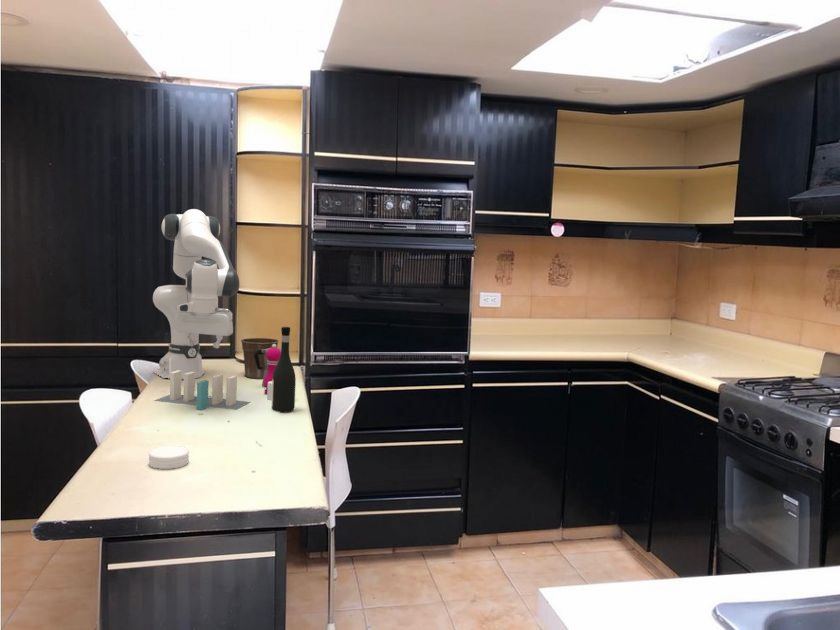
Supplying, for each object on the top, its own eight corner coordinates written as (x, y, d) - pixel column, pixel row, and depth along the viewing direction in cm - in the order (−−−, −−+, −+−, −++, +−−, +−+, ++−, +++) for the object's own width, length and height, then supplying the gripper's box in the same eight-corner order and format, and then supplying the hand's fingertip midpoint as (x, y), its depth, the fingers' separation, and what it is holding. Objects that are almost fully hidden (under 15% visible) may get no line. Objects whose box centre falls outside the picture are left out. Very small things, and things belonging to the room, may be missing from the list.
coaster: (175, 455, 185) (176, 443, 185) (196, 464, 179) (196, 451, 179) (141, 463, 178) (141, 450, 177) (161, 473, 171) (161, 459, 171)
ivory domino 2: (183, 401, 242) (183, 374, 241) (190, 398, 247) (191, 371, 246) (187, 401, 242) (187, 374, 241) (194, 398, 247) (195, 372, 246)
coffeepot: (281, 382, 284) (283, 340, 283) (292, 386, 277) (294, 344, 275) (248, 385, 275) (249, 342, 273) (258, 390, 267) (259, 345, 266)
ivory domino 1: (169, 399, 243) (170, 372, 242) (177, 396, 248) (177, 370, 247) (173, 400, 243) (174, 373, 242) (181, 397, 248) (181, 370, 247)
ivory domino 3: (211, 404, 240) (212, 376, 239) (218, 401, 245) (219, 374, 244) (215, 404, 240) (216, 377, 239) (222, 401, 245) (223, 374, 244)
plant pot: (237, 373, 298) (237, 337, 296) (273, 372, 305) (274, 337, 303) (243, 380, 284) (244, 343, 282) (281, 379, 290) (282, 342, 289)
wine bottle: (266, 410, 237) (269, 326, 234) (281, 406, 244) (284, 325, 241) (284, 414, 234) (287, 329, 230) (298, 409, 241) (302, 327, 237)
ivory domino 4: (225, 405, 239) (226, 378, 238) (232, 402, 244) (232, 375, 243) (229, 406, 239) (230, 378, 238) (236, 403, 244) (237, 376, 243)
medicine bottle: (279, 403, 248) (280, 372, 246) (266, 400, 252) (267, 369, 251) (293, 400, 253) (294, 369, 252) (281, 397, 258) (282, 366, 256)
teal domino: (196, 410, 232) (197, 382, 231) (203, 407, 236) (204, 379, 235) (200, 411, 231) (201, 383, 230) (207, 408, 236) (208, 380, 235)
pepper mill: (277, 397, 258) (279, 346, 256) (259, 395, 259) (261, 344, 257) (284, 393, 265) (286, 343, 263) (267, 391, 266) (269, 341, 264)
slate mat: (153, 401, 240) (153, 400, 240) (171, 394, 252) (171, 393, 252) (236, 410, 235) (236, 409, 235) (251, 403, 247) (251, 401, 246)
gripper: (236, 308, 231) (235, 348, 233) (182, 304, 235) (181, 343, 236) (228, 310, 225) (227, 350, 227) (172, 305, 229) (172, 345, 230)
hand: (203, 346), depth 231 cm, fingers open, 8 cm apart
